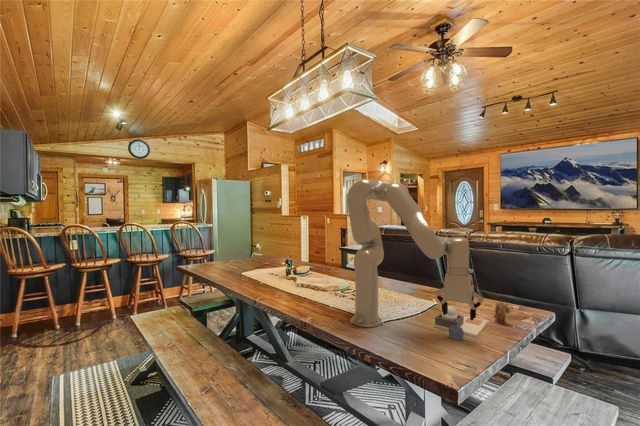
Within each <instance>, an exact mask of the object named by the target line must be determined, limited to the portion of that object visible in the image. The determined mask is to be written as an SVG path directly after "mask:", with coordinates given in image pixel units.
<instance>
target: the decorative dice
mask: <svg viewBox="0 0 640 426" xmlns="http://www.w3.org/2000/svg"><path fill="white" fill-rule="evenodd" d="M448 334H449V338H450V339H451V340H454V341H461V340H463V339H464V336H465V335H464V332H463V329H462V328H461V327H459V326H451V327H450V328H449V330H448Z"/></svg>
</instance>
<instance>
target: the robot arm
mask: <svg viewBox="0 0 640 426" xmlns="http://www.w3.org/2000/svg"><path fill="white" fill-rule="evenodd" d="M408 188H409V187H407V186H406V185H405V184H403V183H400V182H390V181H389V182H388V181H382V180H375V179H372V178H362V179H359V180H357V181H355V182H354V183H353V184H352V185H351V187H350V188H349V189H348V191H347V195H346V196H347V197H346V205H347V209H348V215H349V224H350V228H351V229H350V230H351V234H352V235H351V236H352V239H353V240H354V243H356V244H359V245H361V248H360V249H358V250H357V251H356V253H355V255H354V257H353V267H354V276H355V277H354V280H355V283H354V285H355V294H354V295H355V296H354V297H355V298H354V299H355V300H354V302H355V304H354V305H355V306H354V308H355V309H354V311H355V312H354V315H353V316H352V317H350V319H349V323H351V324H354V325H355V326H358V327H362V328H375V327H379V326H381V324H382V321H383V320H382V318H381V317H380V316H379V273H378V266H379V265H380V264H381V263H382V262H383V260H384V257H385V252H384V251H385V250H384V247H383V246H384V245H383V240H382V234H381V230H380V227H379V225H378V224H377V223H376V222H374V221H373V220H371V215H370V209H369V206H368V200H373V201H374V200H375V201H380V202H387V203H388V205H389V206H390V207H391V209H392V210H393V211H394V212H395V214H396V215H397V216H398V217H399V219H400V220H401V222H402V223H403V224H404V227H405V228H406V230H407V231H408V233H409V235H410V237H411V239H412V240H413V241H414V243H415V244H416V245H417V246H418V248H419V249H420V251H422V252H423V254H424V255H425V256H426V257H428V258H429V259H432V260H438V259H441V258H442V257H443V256H444V255H446V273H445V275H444V281H443V287H442V288H439V289H436V290H435V291H434V294H435V296H436V299H437V300H438V301H439V302H440V304H441V312H443V315H446V314H447V313H448V306H449V305H448V302H447V301H450V302H454V303H461V304H466V305H468V306H469V307H470V309H469V317H470V320H473V319H474V318H477V309H478V308H479V307H480V306H481V305H482V304H483V302H484V300H485V297H483V296H482V295H480V294H478V293H476V291H475V288H474V281H473V280H474V279H473V276H472V274H474V269H471V268H470V251H469V250H470V243H469V240H468V238H465V237H460V236H459V237H458V236H455V237H445V236H440V235H436V233H434V231H433V230H432V228H431V227H430V226H429V224H428V222H427V220H426V218H425V214H424V212H423V210H422V209H421V207H420V206H419V205H418V204H417V202H416V201H415V200H414V198H413V197H412V196H411V195H410V192H409V189H408ZM441 293H442V294H443V295H441ZM475 299H477V302H476V303H475V301H474V300H475Z"/></svg>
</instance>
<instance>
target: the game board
mask: <svg viewBox="0 0 640 426" xmlns="http://www.w3.org/2000/svg"><path fill="white" fill-rule="evenodd" d="M488 324H489V321H488V320H486V319H482V318H481V319H480V318H478V317H476V318H474V319H473V320H470V316H467V315H463V314H458V313H457V320H456V321H453V320H448V319H444V318H442V311H440V313H438V314H437V315H436V316H435V317H434V327H435V328H438V329H441V330H445V331H449V328H450V327H451V326H459V327H461V328H462V329H463V332H464V336H469V337H472V338H478V337H479V335H480V334H481V333H482V332H483V330H484V329H485V328H486V327H487V325H488Z"/></svg>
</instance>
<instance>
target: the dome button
mask: <svg viewBox="0 0 640 426" xmlns="http://www.w3.org/2000/svg"><path fill="white" fill-rule="evenodd" d="M441 312H442V311H441ZM457 314H458V311H457V309H456V307H454V306H452V305H448V313H447V314H446V315H443V312H442V318H444V319H448V320H453V321H456V320H457Z"/></svg>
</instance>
